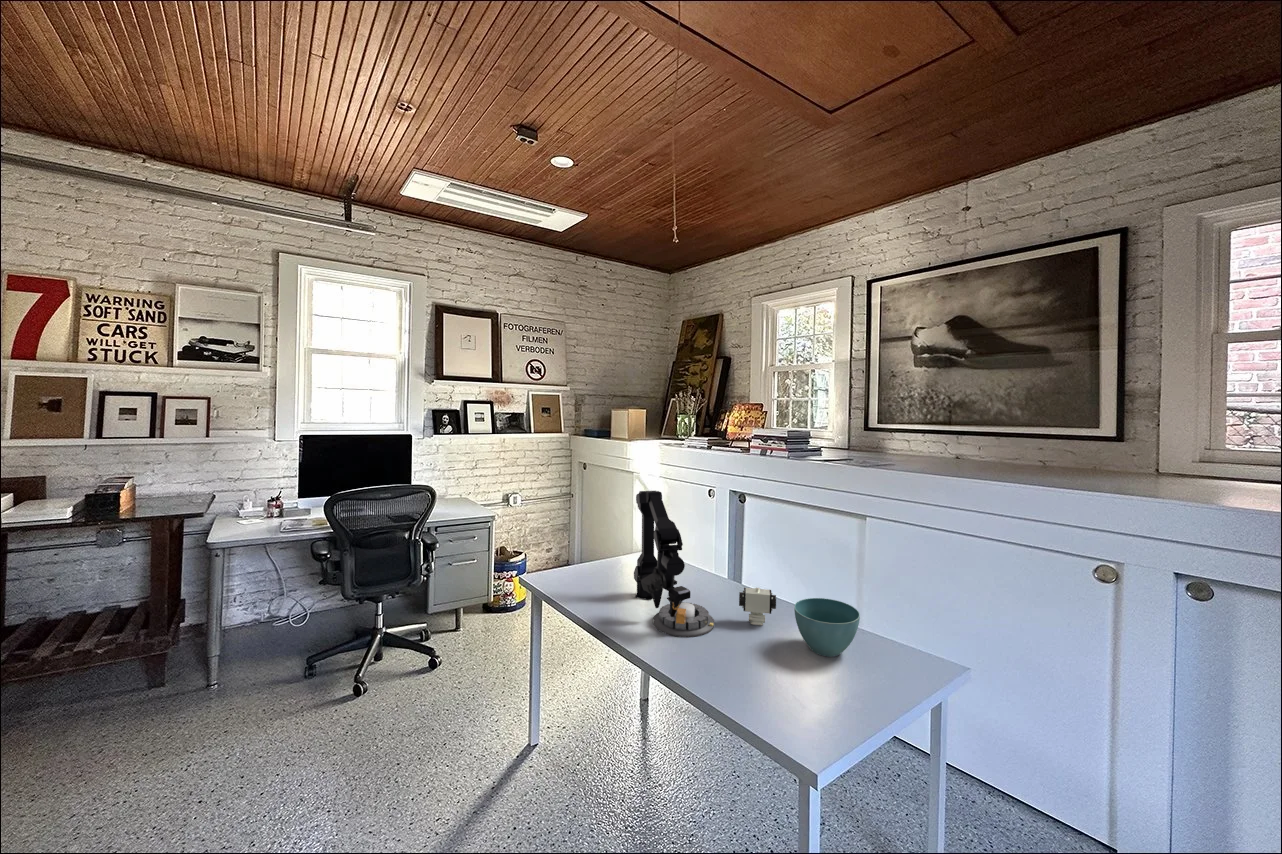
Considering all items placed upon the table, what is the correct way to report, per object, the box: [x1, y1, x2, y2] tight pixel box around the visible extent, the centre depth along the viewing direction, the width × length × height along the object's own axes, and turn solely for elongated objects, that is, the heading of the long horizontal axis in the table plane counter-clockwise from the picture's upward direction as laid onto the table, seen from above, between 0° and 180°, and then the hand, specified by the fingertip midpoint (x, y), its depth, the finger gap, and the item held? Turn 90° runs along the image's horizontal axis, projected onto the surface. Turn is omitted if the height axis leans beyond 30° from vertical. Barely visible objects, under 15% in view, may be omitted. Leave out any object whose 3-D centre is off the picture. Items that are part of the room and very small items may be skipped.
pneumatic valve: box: [738, 587, 777, 627], centre depth 174 cm, size 6×12×12 cm, turn 78°
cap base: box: [652, 602, 715, 638], centre depth 173 cm, size 20×20×6 cm
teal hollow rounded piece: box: [793, 597, 861, 658], centre depth 156 cm, size 18×18×12 cm
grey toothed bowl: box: [658, 601, 710, 631], centre depth 173 cm, size 16×17×5 cm
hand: (664, 612), depth 170 cm, fingers open, 8 cm apart
